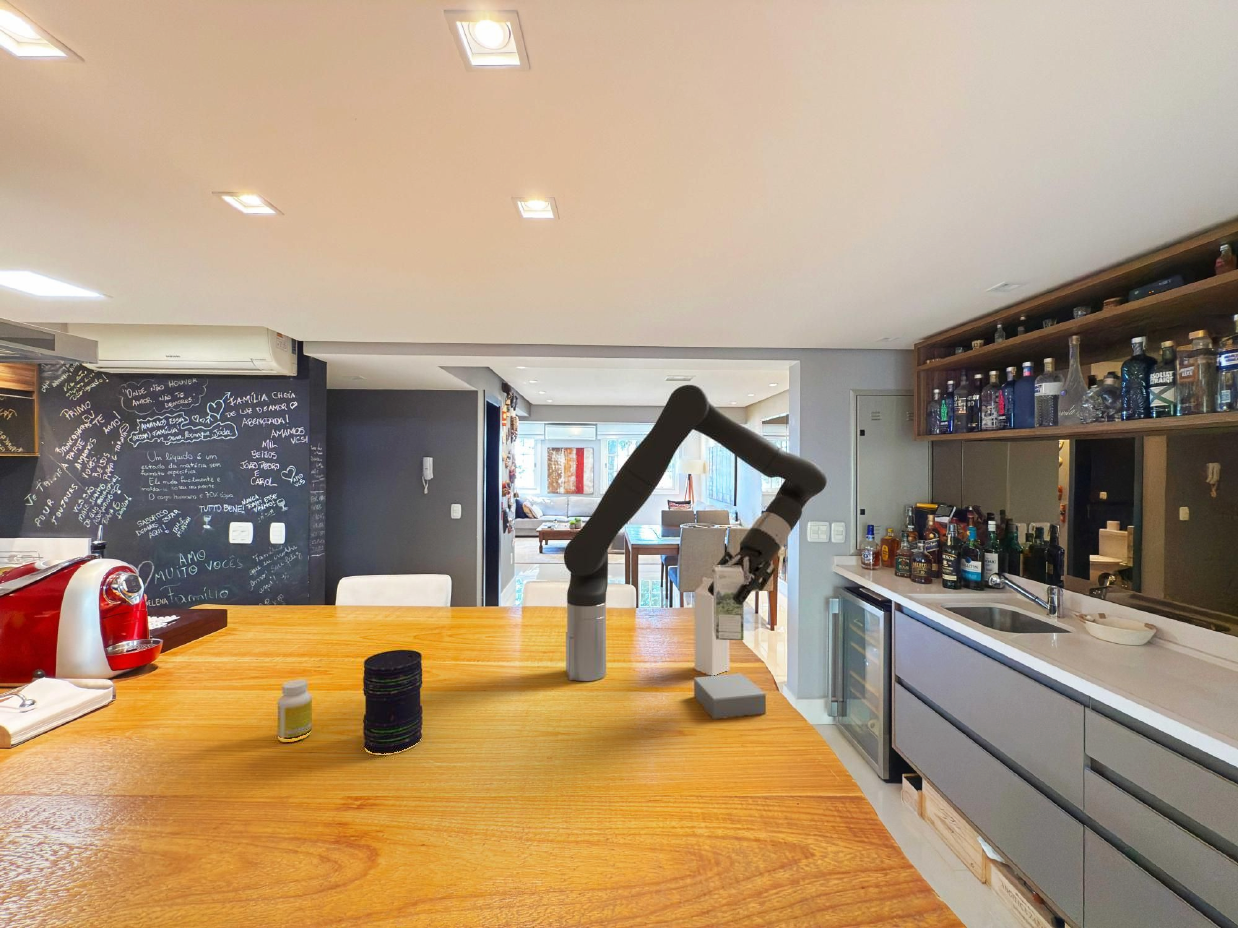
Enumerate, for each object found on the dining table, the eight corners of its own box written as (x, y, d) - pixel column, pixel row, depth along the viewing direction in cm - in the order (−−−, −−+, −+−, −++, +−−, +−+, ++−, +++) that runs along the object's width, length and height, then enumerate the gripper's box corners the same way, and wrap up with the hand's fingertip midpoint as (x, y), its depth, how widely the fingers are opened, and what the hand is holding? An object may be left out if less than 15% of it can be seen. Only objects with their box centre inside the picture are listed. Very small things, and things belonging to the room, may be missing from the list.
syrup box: (740, 632, 117) (740, 564, 117) (744, 641, 111) (743, 569, 111) (713, 631, 118) (713, 563, 118) (715, 640, 112) (715, 569, 112)
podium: (713, 719, 108) (713, 698, 108) (694, 696, 119) (694, 677, 119) (765, 713, 110) (765, 693, 110) (741, 691, 121) (741, 673, 121)
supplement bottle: (318, 732, 103) (318, 679, 103) (292, 746, 98) (292, 690, 98) (296, 727, 105) (296, 676, 105) (270, 741, 100) (270, 686, 100)
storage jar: (364, 761, 93) (364, 672, 93) (361, 736, 101) (361, 654, 102) (426, 747, 97) (426, 662, 97) (418, 724, 106) (418, 646, 106)
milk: (712, 676, 130) (711, 583, 130) (694, 669, 135) (693, 578, 134) (730, 670, 133) (729, 579, 133) (711, 663, 138) (711, 575, 138)
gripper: (734, 523, 124) (692, 580, 119) (780, 530, 112) (735, 593, 106) (752, 545, 127) (712, 601, 121) (799, 554, 114) (756, 617, 109)
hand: (723, 597), depth 114 cm, fingers closed on syrup box, 8 cm apart
